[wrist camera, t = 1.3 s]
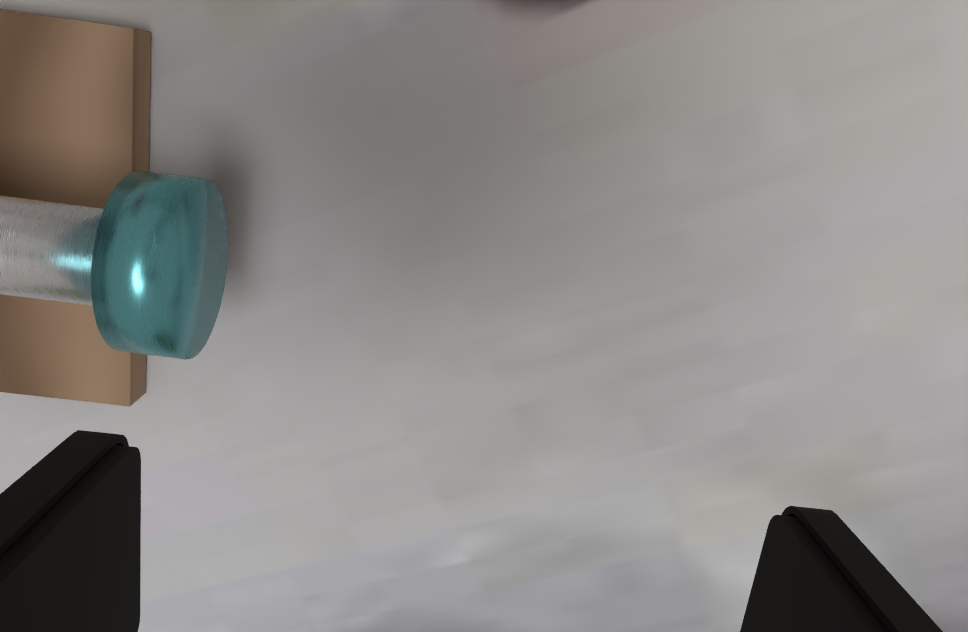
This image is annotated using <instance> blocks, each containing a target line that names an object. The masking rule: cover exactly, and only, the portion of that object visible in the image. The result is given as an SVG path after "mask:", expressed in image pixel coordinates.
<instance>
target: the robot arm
mask: <svg viewBox="0 0 968 632" xmlns="http://www.w3.org/2000/svg"><path fill="white" fill-rule="evenodd" d="M140 519H141V457H140V452H139V449H138V448H137V447H129V445H128V441H127V438H126V437H125V436H124V435H118V434H109V433H99V432H90V431H80V430H78V431H76V432H74V433H73V434H72V435H70V436H69V437H68V438H67V439H66V440H64V441H63V442H62V443H61V444H60V445H58V446H57V447H56V448H55V449H54V450H52V451H51V452H50V453H49V454H48V455H46V456H45V457H44V458H43V459H42V460H41V461H39V462H38V463H37V464H36V465H35V466H33V467H32V468H31V469H30V470H29V471H27V472H26V473H25V474H24V475H23V476H21V477H20V478H19V479H18V480H17V481H15V482H14V483H13V484H12V485H11V486H10V487H8V488H7V489H6V490H5V491H4V492H2V493H1V494H0V632H138V628H139V622H140ZM740 632H943V631H942V630H941V629H940V628H939V627H938V626H937V625H936V624H935V623H934V622H933V620H932V619H931V618H930V617H929V616H928V615H927V614H926V613H925V612H924V610H923V609H922V608H921V607H920V606H919V605H918V604H917V603H916V602H915V600H914V599H913V598H912V597H911V596H910V595H909V594H908V593H907V592H906V591H905V589H904V588H903V587H902V586H901V585H900V584H899V583H898V582H897V581H896V579H895V578H894V577H893V576H892V575H891V574H890V573H889V572H888V571H887V570H886V568H885V567H884V566H883V565H882V564H881V563H880V562H879V561H878V560H877V558H876V557H875V556H874V555H873V554H872V553H871V552H870V551H869V550H868V549H867V547H866V546H865V545H864V544H863V543H862V542H861V541H860V540H859V539H858V537H857V536H856V535H855V534H854V533H853V532H852V531H851V530H850V529H849V528H848V526H847V525H846V524H845V523H844V522H843V521H842V520H841V519H840V518H839V516H838V515H837V514H836V513H834V512H833V511H832V510H823V509H814V508H805V507H795V506H789V507H787V508H786V509H785V510H784V512H783V513H782V515H775V516H773V517H772V519H771V520H770V523H769V525H768V529H767V533H766V536H765V540H764V544H763V548H762V551H761V555H760V559H759V563H758V566H757V570H756V574H755V578H754V582H753V585H752V589H751V593H750V597H749V600H748V604H747V608H746V612H745V615H744V619H743V623H742V627H741V630H740Z"/></svg>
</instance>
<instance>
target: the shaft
mask: <svg viewBox="0 0 968 632" xmlns="http://www.w3.org/2000/svg"><path fill="white" fill-rule="evenodd" d="M227 257H228V228H227V218H226V211H225V206H224V202H223V199H222V196H221V193H220V191H219V189H218V187H217V186H216V185H215V183H213V182H212V181H211V180H208V179H201V178H193V177H186V176H178V175H171V174H163V173H155V172H148V171H133V172H130V173H129V174H127V175H126V176H124V177H123V178H122V179H121V180H120V181H119V183H118V184H117V185H116V187H115V188H114V190H113V191H112V193H111V195H110V196H109V198H108V201H107V203H106V205H105V207H104V209H101V208H93V207H85V206H77V205H70V204H62V203H54V202H46V201H38V200H31V199H23V198H15V197H7V196H0V294H2V295H10V296H19V297H27V298H35V299H43V300H52V301H60V302H68V303H77V304H85V305H93V311H94V316H95V320H96V323H97V327H98V329H99V331H100V334H101V336H102V338H103V339H104V341H105V342H106V343H107V344H108V346H109V347H111V348H112V349H114V350H116V351H120V352H129V353H137V354H146V355H154V356H163V357H171V358H180V359H191V358H193V357H195V356H196V355H197V354H198V353H199V352H200V351H201V350H202V348H203V347H204V345H205V344H206V342H207V340H208V338H209V336H210V334H211V332H212V329H213V327H214V324H215V321H216V318H217V315H218V312H219V308H220V304H221V300H222V295H223V290H224V284H225V277H226V269H227Z"/></svg>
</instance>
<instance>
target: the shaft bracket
mask: <svg viewBox="0 0 968 632" xmlns="http://www.w3.org/2000/svg"><path fill="white" fill-rule="evenodd" d="M150 75H151V32H147V31H142V30H138V29H134V28H128V27H121V26H114V25H107V24H100V23H93V22H86V21H79V20H72V19H65V18H58V17H51V16H44V15H37V14H30V13H23V12H16V11H9V10H2V9H0V196H7V197H15V198H23V199H31V200H38V201H46V202H54V203H62V204H70V205H77V206H85V207H93V208H101V209H104V207H105V205H106V203H107V201H108V198H109V196H110V195H111V193H112V191H113V190H114V188H115V187H116V185H117V184H118V183H119V181H120V180H121V179H122V178H123V177H124V176H126V175H127V174H129V173H130V172H133V171H148V172H149V145H150ZM0 392H7V393H16V394H25V395H34V396H43V397H51V398H60V399H69V400H78V401H87V402H96V403H105V404H114V405H123V406H131V405H132V404H133V403H134V402H136V401H137V400H138V399H139V398H140V397H141V396H142V395H143V394H144V393H146V354H137V353H129V352H120V351H116V350H114V349H112V348H111V347H109V346H108V344H107V343H106V342H105V341H104V339H103V338H102V336H101V334H100V331H99V329H98V327H97V323H96V320H95V316H94V311H93V305H85V304H77V303H68V302H60V301H52V300H43V299H35V298H27V297H19V296H10V295H2V294H0Z"/></svg>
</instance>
